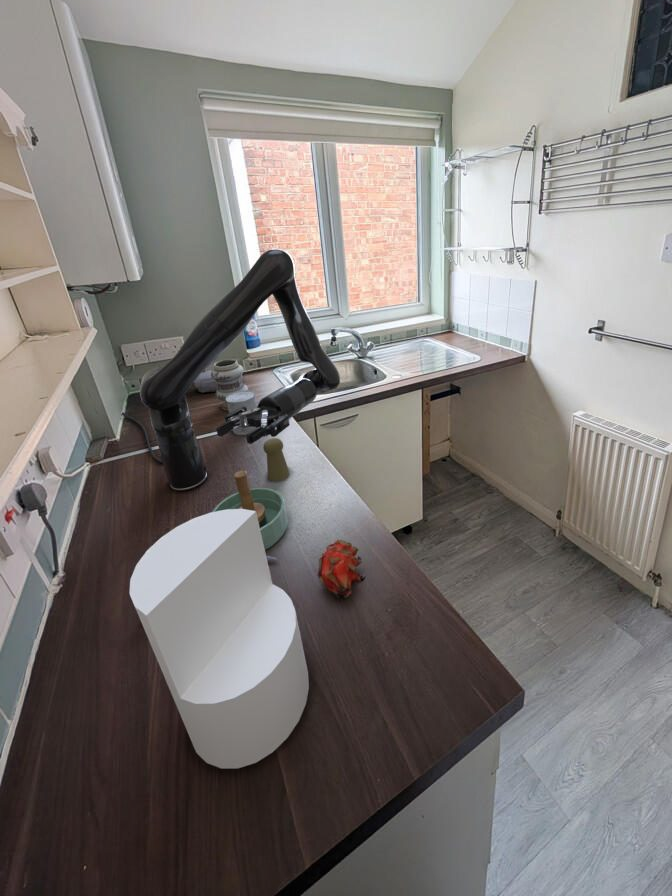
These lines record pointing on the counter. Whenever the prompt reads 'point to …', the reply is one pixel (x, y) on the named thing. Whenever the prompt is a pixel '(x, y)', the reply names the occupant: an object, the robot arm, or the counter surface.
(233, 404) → the white canister
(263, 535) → the bowl
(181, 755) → the counter surface
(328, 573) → the dragon fruit
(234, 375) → the apothecary jar
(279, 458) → the olive green tapered cone
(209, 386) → the grey rounded bag
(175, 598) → the stepped white drum
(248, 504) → the dish brush
